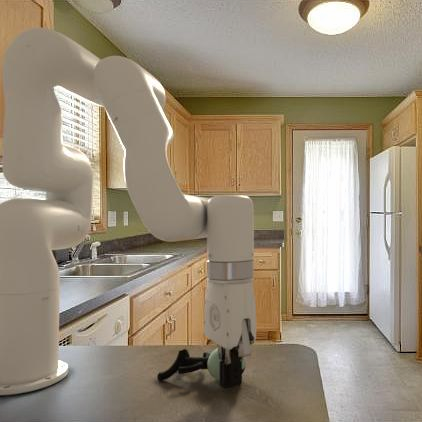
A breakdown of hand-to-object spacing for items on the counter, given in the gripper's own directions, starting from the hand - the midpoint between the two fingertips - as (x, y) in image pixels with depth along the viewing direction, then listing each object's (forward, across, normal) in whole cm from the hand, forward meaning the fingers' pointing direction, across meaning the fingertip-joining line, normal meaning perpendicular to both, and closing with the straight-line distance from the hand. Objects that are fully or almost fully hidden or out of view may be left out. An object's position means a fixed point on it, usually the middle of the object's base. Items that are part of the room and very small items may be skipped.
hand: (230, 385), depth 62 cm
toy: (+2, -8, -1) cm, 8 cm away
